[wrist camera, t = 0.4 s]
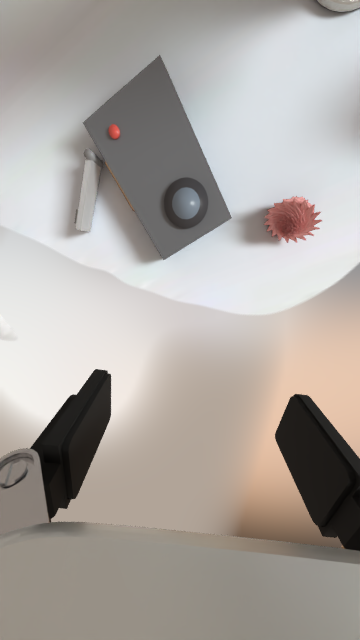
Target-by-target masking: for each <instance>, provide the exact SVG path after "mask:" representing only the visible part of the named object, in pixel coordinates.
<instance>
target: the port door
mask: <svg viewBox="0 0 360 640" xmlns="http://www.w3.org/2000/svg"><path fill="white" fill-rule="evenodd" d="M84 155H85V157H86V159H85V166H84V173H83V180H82V187H81V194H80V201H79V208H78V210H76V217H75V223H76V229H77V230H80V231H89V232H90V231H91V225H92V219H93V213H94V208H95V202H96V196H97V190H98V184H99V178H100V173H101V169H102V168H103V166H104V163H103V161H102V160H101V159H100V158H99V157H98V156H97V155H96V154H95V153H94V152H93V151H91V150H90V149H86V150H85V151H84Z"/></svg>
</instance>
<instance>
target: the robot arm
mask: <svg viewBox="0 0 360 640" xmlns="http://www.w3.org/2000/svg"><path fill="white" fill-rule="evenodd" d="M317 1H318V2H319V3H320V4H321V5H322V6H324V7H326V8H328V9H330V10H333V11H338V12H345V11H352V10H354V9H357V8H360V0H317ZM110 416H111V374H108V372H107V371H105V370H98V369H96V370H94V371H93V373H92V374H91V376H90V377H89V378H88V380H87V381H86V383H85V384H84V385H83V387H82V388H81V390H80V391H79V392H78V394H77V395H71V396H70V397H69V398H68V399H67V400H66V402H65V403H64V404H63V406H62V407H61V409H60V410H59V411H58V412H57V414H56V415H55V417H54V418H53V419H52V420H51V422H50V423H49V424H48V426H47V427H46V428H45V430H44V431H43V432H42V433H41V435H40V436H39V438H38V439H37V440H36V441H35V443H34V444H33V446H32V447H31V448H30V449H28V448H26V449H18V450H15V451H12V452H10V453H8V454H6V455H4V456H3V457H1V458H0V640H360V459H359V457H358V456H357V455H356V454H355V452H354V451H353V450H352V449H351V447H350V446H349V445H348V444H347V442H346V441H345V440H344V439H343V437H342V436H341V435H340V434H339V433H338V432H337V430H336V429H335V428H334V426H333V425H332V424H331V423H330V421H329V420H328V419H327V418H326V417H325V415H324V414H323V413H322V412H321V410H320V409H319V408H318V407H317V405H316V404H315V403H314V402H313V401H312V399H311V398H310V397H309V396H307V395H300V394H295V395H294V396H293V397H291V398H290V400H289V402H288V405H287V407H286V409H285V412H284V414H283V417H282V419H281V421H280V424H279V426H278V428H277V431H276V434H275V439H276V442H277V444H278V446H279V448H280V451H281V453H282V455H283V457H284V459H285V462H286V463H287V466H288V468H289V470H290V472H291V475H292V477H293V479H294V481H295V483H296V486H297V488H298V490H299V492H300V494H301V496H302V499H303V500H304V503H305V505H306V507H307V510H308V512H309V514H310V516H311V518H312V520H313V522H314V523H315V524H316V525H318V527H319V529H320V532H321V534H322V536H325V537H334V538H335V537H337V536H338V538H339V539H340V541H341V543H342V545H341V548H333V547H323V546H315V545H307V544H297V543H289V542H280V541H271V540H262V539H252V538H243V537H234V536H224V535H215V534H205V533H195V532H186V531H176V530H166V529H156V528H146V527H136V526H126V525H112V524H100V523H87V522H52V523H51V518H53V517H54V516H55V514H56V513H57V510H58V508H65V509H67V507H68V505H69V503H70V500H71V499H75V498H76V496H77V495H78V493H79V490H80V488H81V486H82V483H83V481H84V479H85V476H86V474H87V472H88V469H89V467H90V465H91V462H92V460H93V458H94V455H95V453H96V451H97V448H98V446H99V444H100V441H101V439H102V437H103V434H104V432H105V430H106V427H107V425H108V423H109V420H110Z"/></svg>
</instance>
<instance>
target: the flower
mask: <svg viewBox="0 0 360 640" xmlns="http://www.w3.org/2000/svg"><path fill="white" fill-rule="evenodd" d="M274 205H275V207H273V208H271V209H268V210H267V211H269V212H270V213H269V214H267V215H266V216H265V217H264V218H266V219H268V220H267V222H266V223H265V224H264V225H269V227H268V229H267V232H268V231H271V230H272V237H273V236H275V235H276V234H277V236H278V239H279V240H280V239H281V238H282V237H283V238H285V240H286V242H288V241H289V239H291V240H294V241H295V242H297V240H296V237H297V238H300V239H303V240H306V239H305V238H304V236H303V235H312V236H314V235H313V234H312V233H310V232H309V231H312V230H315V229H320V228H318V227H314V225H315V224H317V223H319V222H321V221H322V220H314V219H315V218H316V217H317V216H318V215H319V214H320V212H317V213H314V206H315V204H314V205H311V204H310V203H308V200H305V198H303V197H300V198H299V197H297V196H296V197H292V198H291V199H283V202H282V203H274Z"/></svg>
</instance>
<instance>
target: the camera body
mask: <svg viewBox="0 0 360 640" xmlns="http://www.w3.org/2000/svg"><path fill="white" fill-rule="evenodd" d="M83 124H84V125H85V127H86V129H87V131H88V132H89V134H90V136H91V137H92V139H93V141H94V142H95V144H96V146H97V148H98V149H99V151H100V153H101V154H102V156H103V158H104V159H105V164H106V166H107V167H108V169H109V171H110V172H111V174H112V176H113V178H114V179H115V181H116V183H117V184H118V186H119V188H120V189H121V191H122V193H123V194H124V196H125V198H126V200H127V201H128V203H129V205H130V206H131V208H132V210H133V211H135V212H136V214H137V216H138V217H139V219H140V221H141V222H142V224H143V226H144V227H145V229H146V231H147V233H148V234H149V236H150V238H151V239H152V241H153V243H154V245H155V246H156V248H157V250H158V251H159V253H160V255H161V256H162V258H163V260H165V259H166V258H168V257H170V256H171V255H173V254H174V253H176V252H178V251H179V250H181V249H182V248H184V247H186V246H187V245H189V244H191V243H192V242H194V241H195V240H197V239H199V238H200V237H202V236H204V235H205V234H207V233H208V232H210V231H212V230H213V229H215V228H216V227H218V226H220V225H221V224H223V223H225V222H226V221H228V220H229V219H231V218H232V217H231V215H230V213H229V211H228V208H227V206H226V204H225V201H224V199H223V197H222V195H221V192H220V190H219V188H218V186H217V183H216V181H215V179H214V177H213V174H212V172H211V170H210V167H209V165H208V163H207V161H206V158H205V156H204V154H203V152H202V149H201V147H200V145H199V142H198V140H197V138H196V136H195V133H194V131H193V129H192V127H191V124H190V122H189V120H188V118H187V115H186V113H185V111H184V108H183V106H182V104H181V102H180V99H179V97H178V95H177V93H176V90H175V88H174V86H173V83H172V81H171V79H170V77H169V74H168V72H167V70H166V68H165V65H164V63H163V61H162V58H161V56H158V57H157V58H156V59H155V60H154V61H153V62H152V63H150V64H149V65H148V66H147V67H146V68H145V69H144V70H142V71H141V72H140V73H139V74H138V75H137V76H136V77H134V78H133V79H132V80H131V81H130V82H129V83H128V84H126V85H125V86H124V87H123V88H122V89H121V90H120V91H119V92H117V93H116V94H115V95H114V96H113V97H112V98H111V99H109V100H108V101H107V102H106V103H105V104H104V105H103V106H101V107H100V108H99V109H98V110H97V111H96V112H95V113H93V114H92V115H91V116H90V117H89V118H88V119H87V120H86V121H84V122H83Z"/></svg>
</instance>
